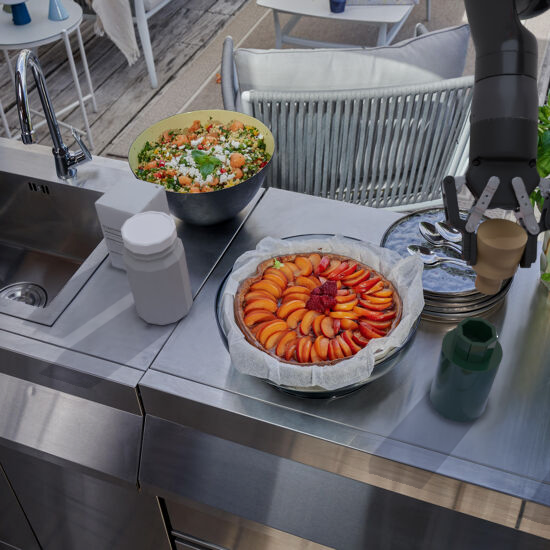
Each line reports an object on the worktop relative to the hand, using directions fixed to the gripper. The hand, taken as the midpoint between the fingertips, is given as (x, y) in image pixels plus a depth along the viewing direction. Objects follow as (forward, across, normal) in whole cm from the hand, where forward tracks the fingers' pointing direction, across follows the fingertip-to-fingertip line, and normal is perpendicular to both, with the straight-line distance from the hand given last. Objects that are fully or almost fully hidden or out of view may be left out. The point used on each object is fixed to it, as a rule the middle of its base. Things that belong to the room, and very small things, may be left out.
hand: (498, 266), depth 75 cm
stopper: (+2, 0, +5) cm, 5 cm away
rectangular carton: (-1, -54, +40) cm, 67 cm away
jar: (+8, -47, +32) cm, 58 cm away
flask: (+19, 0, +20) cm, 28 cm away
